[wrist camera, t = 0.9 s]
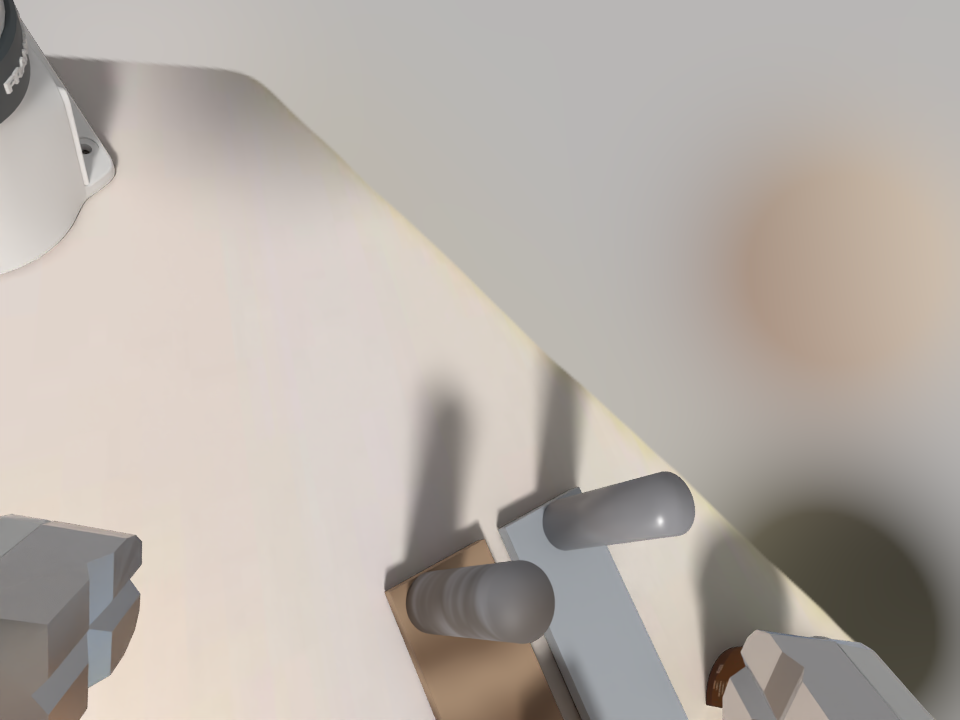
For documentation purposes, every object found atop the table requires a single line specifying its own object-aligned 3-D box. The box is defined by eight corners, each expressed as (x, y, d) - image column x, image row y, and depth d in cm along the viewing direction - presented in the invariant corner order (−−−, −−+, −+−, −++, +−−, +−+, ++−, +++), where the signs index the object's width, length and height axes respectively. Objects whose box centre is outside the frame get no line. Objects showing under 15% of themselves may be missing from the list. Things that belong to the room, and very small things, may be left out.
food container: (789, 642, 55) (899, 649, 47) (796, 718, 53) (914, 739, 44) (690, 622, 51) (792, 625, 43) (692, 703, 48) (802, 723, 40)
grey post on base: (497, 529, 46) (603, 505, 35) (570, 489, 50) (684, 456, 39) (624, 816, 42) (786, 890, 31) (691, 746, 47) (852, 790, 36)
